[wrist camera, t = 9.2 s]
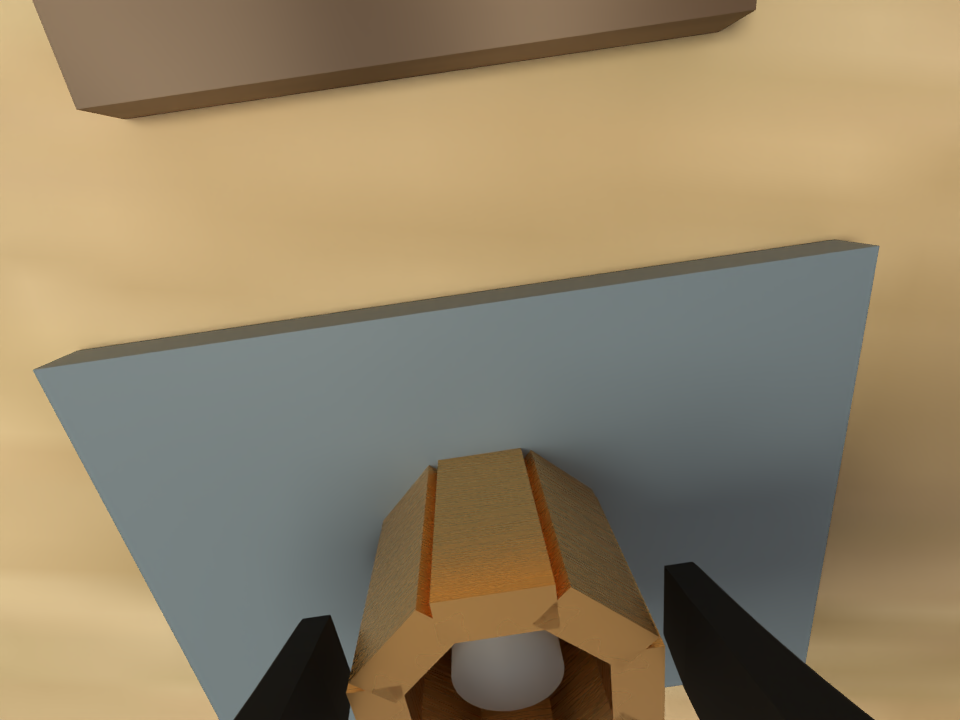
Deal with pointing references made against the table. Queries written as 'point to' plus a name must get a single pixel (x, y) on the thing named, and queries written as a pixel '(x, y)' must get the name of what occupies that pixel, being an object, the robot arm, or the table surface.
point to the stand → (328, 42)
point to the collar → (503, 595)
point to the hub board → (480, 446)
